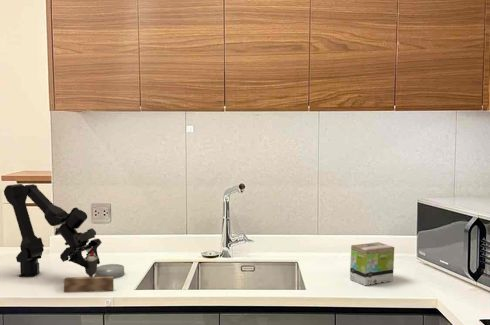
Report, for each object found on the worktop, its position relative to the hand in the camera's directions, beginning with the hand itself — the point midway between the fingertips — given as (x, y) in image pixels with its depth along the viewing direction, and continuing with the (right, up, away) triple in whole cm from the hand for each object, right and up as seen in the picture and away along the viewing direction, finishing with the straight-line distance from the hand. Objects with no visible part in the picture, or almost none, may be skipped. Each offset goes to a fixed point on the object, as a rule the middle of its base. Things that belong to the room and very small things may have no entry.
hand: (93, 265), depth 189 cm
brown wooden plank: (0, -8, -7) cm, 11 cm away
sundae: (-1, -8, +1) cm, 8 cm away
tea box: (+113, -8, +8) cm, 113 cm away
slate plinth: (+2, -7, +13) cm, 15 cm away
